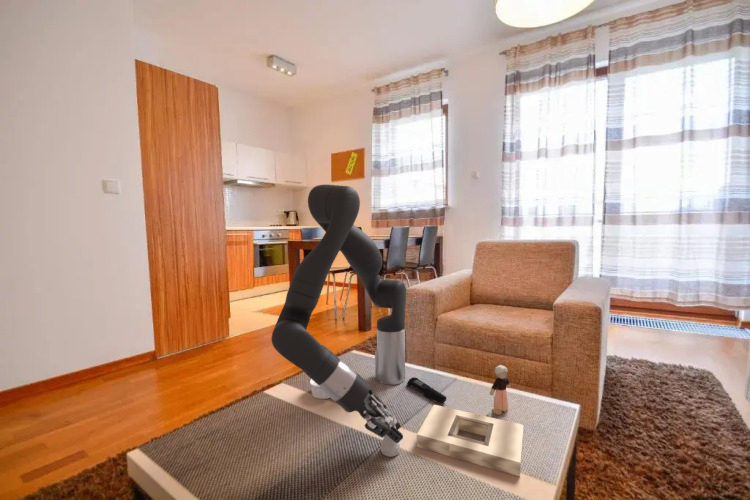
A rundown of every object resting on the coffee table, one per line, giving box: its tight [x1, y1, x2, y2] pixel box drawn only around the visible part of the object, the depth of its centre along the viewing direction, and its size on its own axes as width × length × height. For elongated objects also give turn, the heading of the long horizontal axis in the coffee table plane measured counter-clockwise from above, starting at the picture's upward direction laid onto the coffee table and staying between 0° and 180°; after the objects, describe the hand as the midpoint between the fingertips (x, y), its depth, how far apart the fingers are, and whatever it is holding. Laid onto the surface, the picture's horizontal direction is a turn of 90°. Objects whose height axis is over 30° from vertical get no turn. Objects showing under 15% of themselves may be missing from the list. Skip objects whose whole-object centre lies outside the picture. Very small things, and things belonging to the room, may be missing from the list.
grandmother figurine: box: [489, 364, 512, 416], centre depth 92 cm, size 8×4×13 cm, turn 131°
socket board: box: [416, 404, 524, 477], centre depth 79 cm, size 22×14×3 cm, turn 64°
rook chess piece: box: [380, 414, 401, 458], centre depth 76 cm, size 4×4×8 cm
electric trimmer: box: [406, 376, 447, 404], centre depth 102 cm, size 4×16×3 cm, turn 32°
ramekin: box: [309, 378, 332, 400], centre depth 103 cm, size 9×9×4 cm
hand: (398, 433), depth 76 cm, fingers closed on rook chess piece, 3 cm apart
